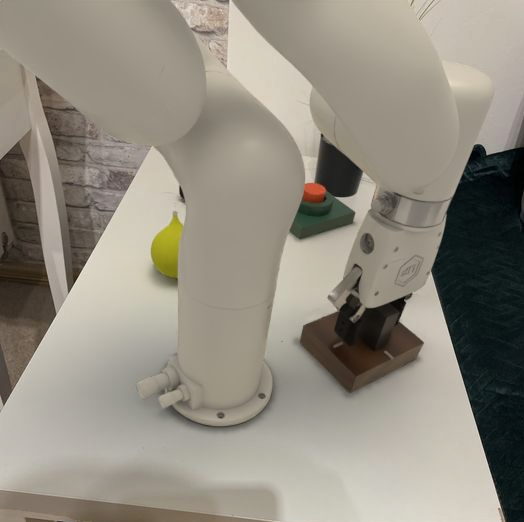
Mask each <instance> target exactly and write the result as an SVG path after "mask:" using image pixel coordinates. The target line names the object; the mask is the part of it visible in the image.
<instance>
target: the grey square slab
mask: <svg viewBox="0 0 524 522" xmlns="http://www.w3.org/2000/svg"><path fill="white" fill-rule="evenodd" d="M358 289H359V287H358ZM359 302H360V301H359V300H358V299H357V298H356V297H355V296H354V297H353V299H352V300H351V302H350V303H349V305H350V306H351V307H352V308H353V309H354V310H355V308H356V307H357V305H358V303H359ZM399 313H400V312H399V311H398V310H397V309H396V308H394V307H393V306H392V305H391V304H390V303H386V304H384V305H381V306H378V307H375V308H366V309H365V311H364V312H363V314H362V315H361V317H360V319H361V321H362V324H361V326H360V329H359V332H358V335H357V336H358V337H360V338H361V339H362V340H363V341H364V342H365V343H366V344H367V345H368V346H369V347H370V348H371V349H373V350H374V351H375V350H377V349H379V348H382V347H384V346H386V345H387V343H388V340H389V338H390V335H391V333H392V330H393V328H394V325H395V323H396V320H397V318H398V315H399Z"/></svg>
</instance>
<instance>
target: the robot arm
mask: <svg viewBox="0 0 524 522" xmlns="http://www.w3.org/2000/svg"><path fill="white" fill-rule="evenodd" d="M231 2H232V4H233V5H234V6H235V8H237V10H238V11H239V12H240V13H241V14H242V16H243V17H244V18H245V20H247V22H248V23H249V24H250V25H251V27H253V29H254V30H255V31H256V32H257V33H258V34H259V35H260V36H261V38H263V39H264V40H265V41H266V42H267V43H268V44H269V45H270V46H271V47H272V48H273V49H274V50H275V51H276V52H277V53H278V54H279V55H281V56H282V57H283V58H284V59H285V60H286V61H287V62H288V63H289V64H290V65H292V66H293V67H294V68H295V70H296V71H298V72H299V73H300V74H301V75H302V76H303V77H304V78H305V79H306V81H307V82H308V83H309V84H310V85H311V86H312V87H311V90H310V94H309V110H310V111H309V112H310V115H311V118H312V121H313V123H314V125H315V127H316V128H317V129H318V131H319V132H320V133H321V134H322V136H323V137H324V138H325V139H326V140H327V141H328V142H330V144H332V145H333V146H334V147H335V148H336V149H337V150H338V151H339V152H340V153H342V154H343V155H344V156H345V157H347V158H348V159H349V160H350V161H351V162H352V163H353V164H354V165H355V166H356V167H358V168H359V170H361V171H362V172H363V173H364V174H365V175H366V177H368V178H369V179H370V180H371V181H372V182H373V183H375V184H376V186H375V188H374V192H373V196H372V198H371V203H370V208H369V209H368V210H367V212H366V214H365V216H364V218H363V220H362V222H361V225H360V227H359V228H358V232H357V234H356V236H355V238H354V242H353V244H352V247H351V249H350V252H349V255H348V258H347V261H346V264H345V268H344V271H343V276H342V280H341V281H340V282H339V283H338V284H337V285H336V286H335V287H334V288H332V290H331V291H330V293H328V294H327V300H328V301H329V302H330V303H331V305H332V306H333V307H335V308H336V310H339V315H338V318H337V322H336V325H335V328H334V331H335V333H336V334H337V335H338V336H339V337H340V338H341V339H342V340H344V341H345V342H346V343H347V344H348V345H349V346H352V345H354V344H355V341H356V338H357V335H358V332H359V329H360V326H361V324H362V321H361V319H360V317H361V315H362V314H363V312H364V311H365V309H366V308H375V307H378V306H381V305H384V304H386V303H390V304H391V305H392V306H393V307H394V308H396V309H397V310H398V311H399V312H400V313H399V315H398V318H397V320H396V323H395V325H394V326H396V325H398V322H400V320H401V317H402V315H403V313H404V310H405V307H406V305H407V302H408V301H409V300H410V299H411V298H412V297H413V293H414V292H417V291H418V290H421V289H422V288H423V287H425V284H426V283H427V281H428V278H429V277H430V274H431V271H432V269H433V266H434V264H435V260H436V257H437V254H438V252H439V248H440V246H441V242H442V239H443V235H444V231H445V228H446V221H447V213H448V210H449V208H450V206H451V203H452V200H453V198H454V196H455V193H456V190H457V188H458V186H459V183H460V181H461V179H462V176H463V174H464V171H465V169H466V166H467V164H468V162H469V158H470V156H471V154H472V151H473V150H474V146H475V144H476V142H477V139H478V137H479V135H480V132H481V130H482V127H483V125H484V122H485V119H486V117H487V115H488V112H489V110H490V108H491V105H492V102H493V99H494V95H495V94H494V93H495V86H494V83H493V81H492V79H491V78H490V76H489V75H487V74H486V73H484V72H483V71H482V70H480V69H478V68H477V67H473V66H472V65H468V64H464V63H461V62H456V61H451V60H442V59H441V58H440V56H439V54H438V51H437V49H436V46H435V45H434V43H433V41H432V39H431V37H430V35H429V34H428V32H427V30H426V27H424V25H423V23H422V22H421V20H420V18H419V17H418V15H417V13H416V12H415V10H414V9H413V6H412V5H411V4H410V3H409V1H408V0H231ZM0 49H2V51H4V52H5V53H6V54H7V55H9V56H10V57H11V58H12V59H14V60H15V61H16V62H18V63H19V64H20V65H22V66H23V67H24V68H25V69H27V70H28V72H30V73H31V74H33V75H34V76H35V77H36V78H38V79H39V80H40V81H41V82H43V83H44V84H45V85H46V86H48V87H49V88H50V89H51V90H53V91H54V92H55V93H57V94H58V96H60V97H62V98H63V99H64V100H65V101H66V102H67V103H69V104H70V105H71V106H72V107H74V108H75V109H76V110H77V111H78V112H79V113H80V114H81V115H82V116H84V117H85V118H86V119H87V120H88V121H89V122H91V123H92V124H93V125H94V126H95V127H97V128H99V129H100V130H102V131H103V132H104V133H106V134H108V135H109V136H111V137H113V138H116V139H118V140H120V141H122V142H124V143H128V144H132V145H135V146H138V147H139V146H140V147H152V148H154V149H155V150H156V151H157V152H158V153H159V154H160V155H161V156H162V158H163V159H164V160H165V162H166V164H167V165H168V167H169V168H170V171H171V172H172V174H173V176H174V178H175V180H176V182H177V183H178V184H179V185H180V187H181V189H182V191H183V194H184V199H183V200H184V204H185V216H184V223H183V229H182V232H181V236H180V241H179V249H178V278H177V352H176V353H175V354H172V355H170V356H169V357H168V363H167V365H166V367H165V368H162V369H161V371H160V373H159V374H157V375H154V376H148V377H146V378H143V379H141V380H139V381H137V382H136V383H135V387H136V390H137V393H138V395H139V396H140V398H141V399H142V400H144V399H147V398H150V397H151V396H153V395H156V394H159V393H160V392H161V391H164V393H163V394H161V395H158V397H157V399H158V403H159V405H160V407H161V408H162V409H166V408H168V407H170V406H172V408H174V410H175V411H177V412H178V413H179V414H180V415H181V416H183V417H185V418H186V419H188V420H191V421H192V422H194V423H195V422H196V423H198V424H200V425H206V426H211V427H229V426H235V425H238V424H241V423H242V424H243V423H245V422H248V421H249V420H251V419H253V418H255V417H256V416H257V415H259V414H260V413H261V412H262V411H263V410H264V409H265V408H266V406H267V405H268V404H269V401H270V399H271V395H272V392H273V384H274V381H273V374H272V372H271V369H270V367H269V365H268V364H267V363H266V361H265V354H266V348H267V342H268V336H269V331H270V326H271V320H272V319H271V318H272V313H273V307H274V303H275V302H274V301H275V297H276V290H277V284H278V278H279V274H280V273H279V271H280V266H281V261H282V257H283V253H284V250H285V245H286V242H287V238H288V235H289V233H290V231H289V230H290V227H291V225H292V223H293V220H294V218H295V216H296V213H297V211H298V208H299V206H300V203H301V200H302V197H303V193H304V187H305V184H306V169H305V168H306V167H305V163H304V159H303V156H302V153H301V150H300V148H299V146H298V144H297V142H296V140H295V138H294V137H293V135H292V133H291V132H290V131H289V129H288V128H287V127H286V126H285V124H284V123H283V122H282V121H281V120H280V119H279V118H278V117H277V116H276V115H275V114H274V113H273V111H271V110H270V109H269V108H268V107H267V106H266V105H265V104H264V103H263V102H261V100H259V99H258V98H257V97H256V96H255V95H254V94H253V93H251V92H250V90H248V88H247V87H246V86H245V85H243V83H241V82H240V81H239V79H237V78H236V76H235V75H234V74H233V73H232V72H231V71H230V70H229V69H228V68H227V67H226V66H225V65H224V64H223V63H222V62H221V60H220V59H218V58H217V56H216V55H215V54H214V53H213V51H212V50H211V49H209V47H208V46H207V45H206V44H205V43H204V42H203V40H202V39H201V38H200V37H199V36H198V35H197V34H196V33H195V31H193V29H192V28H191V27H190V25H189V24H188V21H187V20H186V18H185V17H184V15H183V14H182V12H181V11H180V10H179V9H178V7H177V6H176V4H174V2H173V1H172V0H0ZM179 185H178V186H179ZM358 287H359V289H358ZM354 296H355V297H356V298H357V299H358V300H359V301H360V302H359V303H358V305H357V307H356V308H355V310H354V309H353V308H352V307H351V306H350V305H349V303H350V302H351V300H352V299H353V297H354Z"/></svg>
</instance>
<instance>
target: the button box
mask: <svg viewBox="0 0 524 522" xmlns="http://www.w3.org/2000/svg"><path fill="white" fill-rule="evenodd" d="M355 217H356V211H355V210H353V208H350V207H349V206H348V205H347V204H345V203H344V202H342V201H341V200H339V198H337V197H336V196H334V195H332V194H331V193H330V192H329V191H328V190H326V193H325V198H324V201H323V202H321V203H311V202H308V201H305V200H303V199H302V200H301V203H300V206H299V208H298V211H297V213H296V216H295V218H294V220H293V223H292V225H291V227H290V230H289V233H291V234H292V235H293V236H295V238H297V239H298V240H302V239H306V238H309V237H312V236H315V235H319V234H322V233H325V232H329V231H331V230H335V229H338V228H341V227H344V226H348V225H351V224H353V223H354V219H355Z"/></svg>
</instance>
